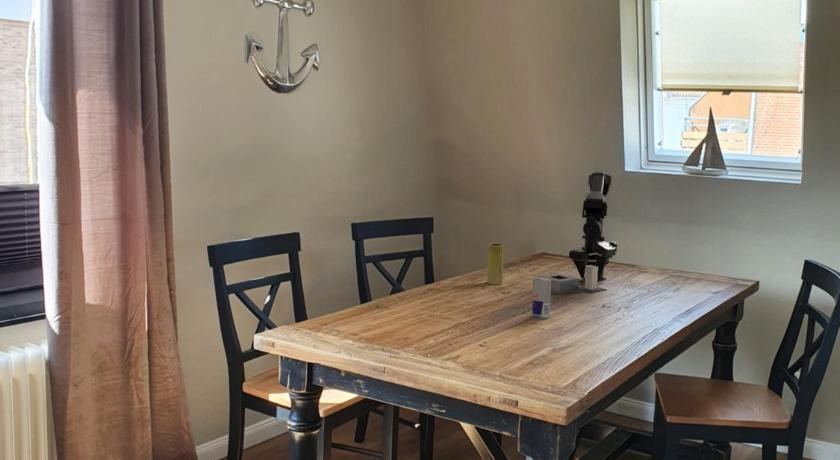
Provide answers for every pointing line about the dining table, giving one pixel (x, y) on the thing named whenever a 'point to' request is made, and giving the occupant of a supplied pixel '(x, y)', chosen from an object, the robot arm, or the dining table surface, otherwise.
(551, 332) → the dining table surface
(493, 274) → the vase
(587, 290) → the mat
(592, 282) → the cream rectangular prism
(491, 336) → the dining table surface
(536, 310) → the energy drink
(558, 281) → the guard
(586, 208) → the robot arm
